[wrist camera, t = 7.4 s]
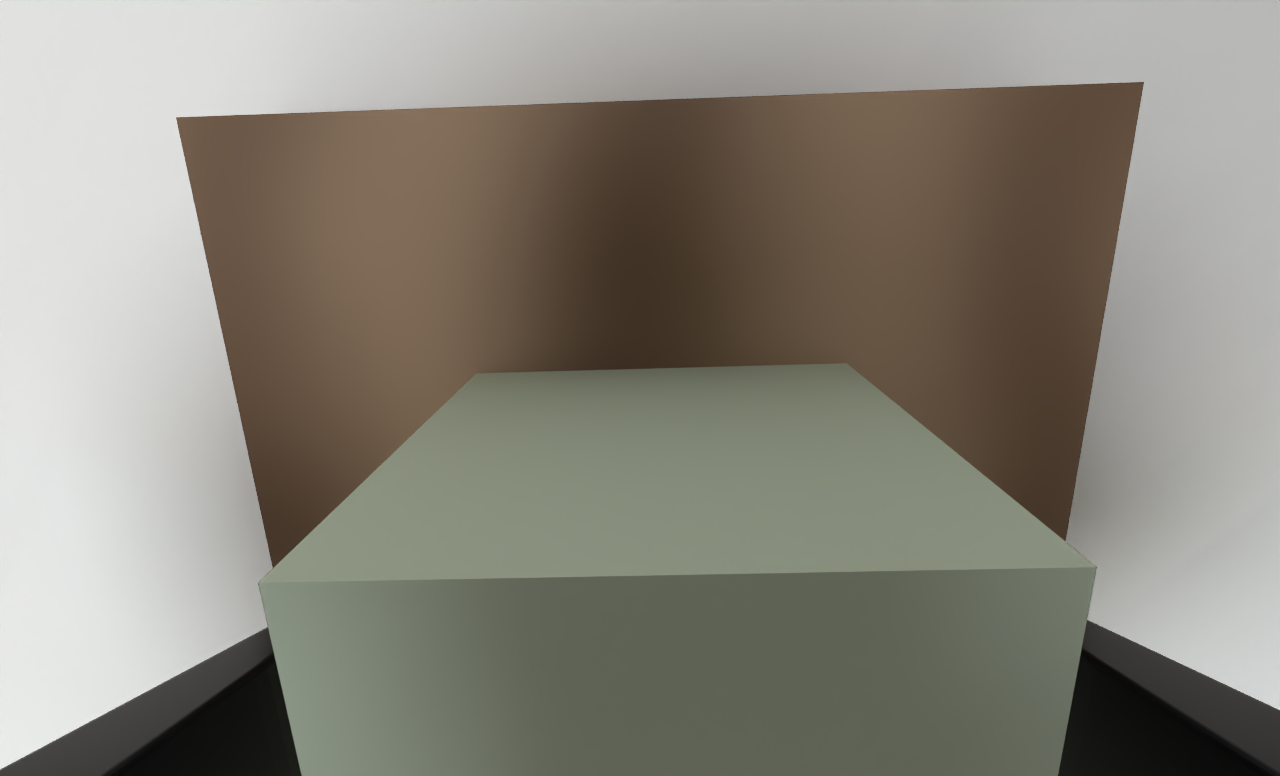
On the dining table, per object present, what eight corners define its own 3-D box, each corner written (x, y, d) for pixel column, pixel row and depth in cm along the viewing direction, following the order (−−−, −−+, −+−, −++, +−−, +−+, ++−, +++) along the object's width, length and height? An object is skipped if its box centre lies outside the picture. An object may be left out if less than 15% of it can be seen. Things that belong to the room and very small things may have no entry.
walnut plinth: (1040, 107, 11) (1143, 82, 9) (957, 738, 15) (1014, 838, 13) (272, 134, 12) (176, 117, 9) (381, 744, 16) (331, 842, 13)
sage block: (846, 363, 10) (1098, 567, 4) (828, 675, 12) (994, 1117, 6) (476, 373, 10) (256, 583, 5) (509, 679, 12) (377, 1114, 6)
